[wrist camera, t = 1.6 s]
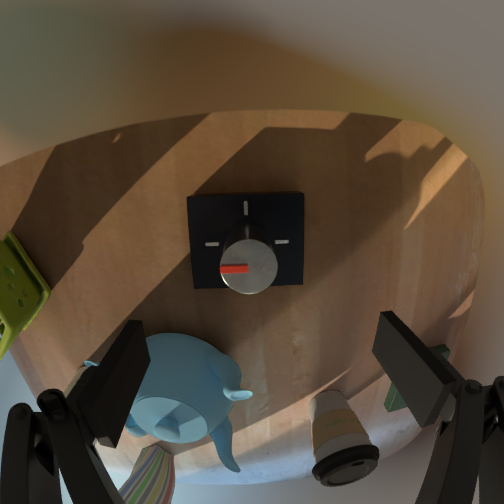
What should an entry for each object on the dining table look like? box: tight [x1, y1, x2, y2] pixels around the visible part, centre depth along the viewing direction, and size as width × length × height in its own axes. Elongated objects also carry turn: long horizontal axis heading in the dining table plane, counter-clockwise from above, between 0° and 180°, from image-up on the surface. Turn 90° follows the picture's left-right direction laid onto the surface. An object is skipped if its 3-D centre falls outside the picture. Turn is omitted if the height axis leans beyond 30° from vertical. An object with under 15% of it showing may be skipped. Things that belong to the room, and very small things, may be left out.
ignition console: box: [384, 344, 451, 412], centre depth 38 cm, size 10×12×4 cm
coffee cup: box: [309, 391, 379, 487], centre depth 33 cm, size 9×9×15 cm
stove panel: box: [187, 191, 304, 289], centre depth 30 cm, size 12×10×3 cm
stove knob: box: [220, 222, 278, 294], centre depth 25 cm, size 4×4×8 cm
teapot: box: [84, 333, 253, 472], centre depth 31 cm, size 17×19×12 cm
